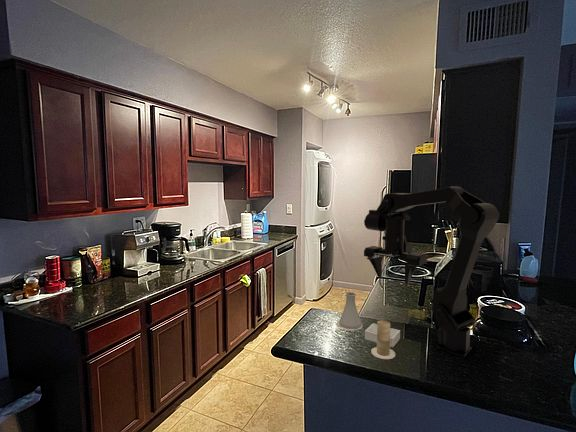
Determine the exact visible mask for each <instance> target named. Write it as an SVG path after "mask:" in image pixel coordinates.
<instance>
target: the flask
mask: <svg viewBox="0 0 576 432" xmlns="http://www.w3.org/2000/svg"><path fill="white" fill-rule="evenodd" d="M345 296H346V300H345V303H344V304H345V305H344V308H343V310H342V314H341V316H340V319H339V320H340V321H339V320H338V321H339V325H340V326H343V327H345V328H352V329H357V328H359V327H361V326H362V325H363V323H362V321H361V317H360V313H359V312H358V309H357V305H356V296H357V294H356V292H354V291H347V292H345ZM361 323H362V324H361ZM362 327H363V326H362Z"/></svg>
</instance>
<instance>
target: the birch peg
mask: <svg viewBox="0 0 576 432" xmlns="http://www.w3.org/2000/svg"><path fill="white" fill-rule="evenodd" d="M376 324H377V343H376V347H377V353H378V354H379V355H382V356H388V355H389V354H390V349H391V347H390V328H391V322H390V321H387V320H382V319H381V320H377V323H376Z"/></svg>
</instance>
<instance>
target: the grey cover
mask: <svg viewBox="0 0 576 432" xmlns="http://www.w3.org/2000/svg"><path fill="white" fill-rule="evenodd" d="M364 340H367V341H370V342H373V343H375V344H377V323H374V322H372V323H371V324H370V325H369V327H367V328H366V329H365V330H364ZM400 340H401V330H400V329H396V328H393V327H392V328H391V327H390V348H394V347H395V346H396V344H398V342H399V341H400Z"/></svg>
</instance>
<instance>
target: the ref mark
mask: <svg viewBox="0 0 576 432" xmlns="http://www.w3.org/2000/svg"><path fill="white" fill-rule="evenodd" d="M370 352H371V354H372V355H373V356H374V357H376V358H378V359H382V360H391V359H394V358H395V357H396V352H395V351H394V350H393V349H391V348H390V354H389V355H388V356H382V355H379V354H378V353H377V346H375V347H372V349H371V351H370Z"/></svg>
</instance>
